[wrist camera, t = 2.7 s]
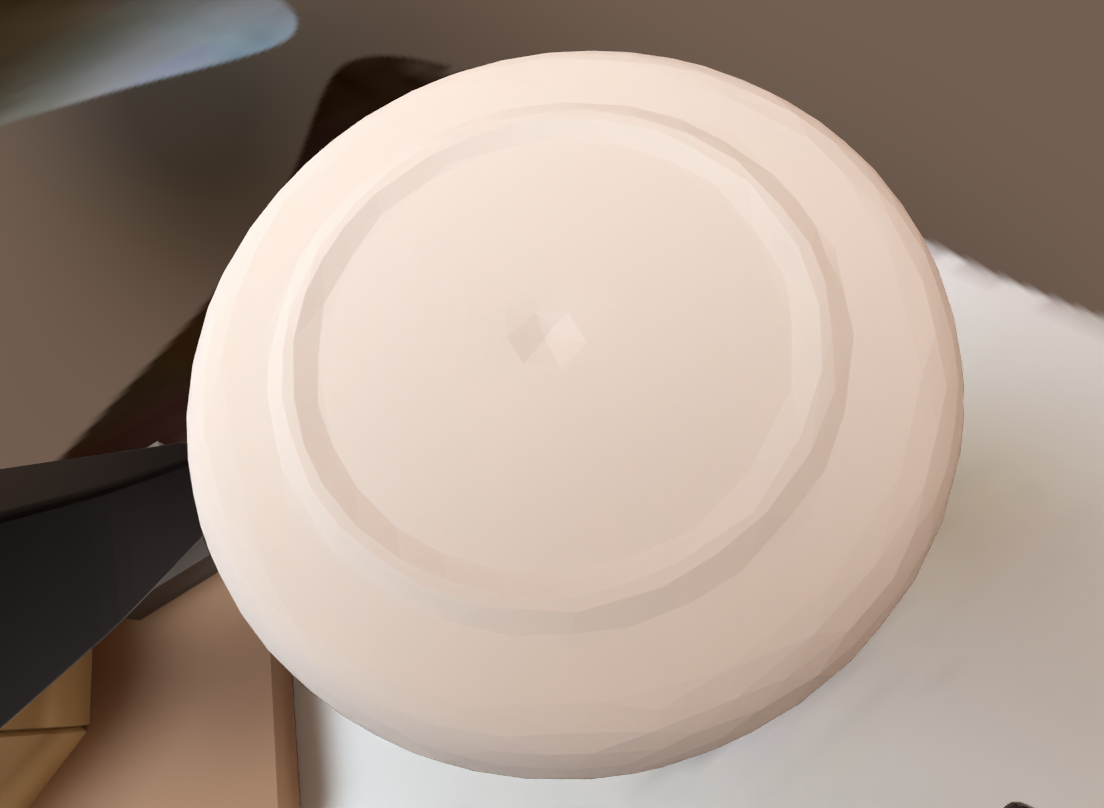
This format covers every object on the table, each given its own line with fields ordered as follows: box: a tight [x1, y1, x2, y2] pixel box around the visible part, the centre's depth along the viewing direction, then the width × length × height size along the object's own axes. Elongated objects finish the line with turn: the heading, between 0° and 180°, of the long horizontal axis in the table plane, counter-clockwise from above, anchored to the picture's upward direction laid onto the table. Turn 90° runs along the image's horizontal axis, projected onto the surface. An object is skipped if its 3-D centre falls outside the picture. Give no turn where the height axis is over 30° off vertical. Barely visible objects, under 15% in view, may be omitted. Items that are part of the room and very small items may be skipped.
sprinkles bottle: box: [187, 51, 964, 779], centre depth 10 cm, size 5×4×13 cm
